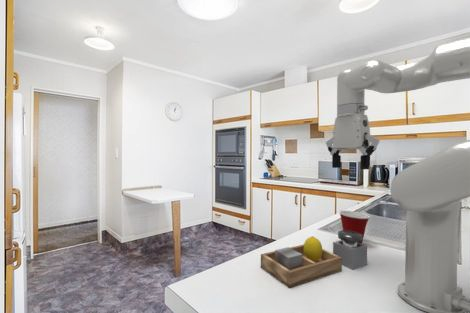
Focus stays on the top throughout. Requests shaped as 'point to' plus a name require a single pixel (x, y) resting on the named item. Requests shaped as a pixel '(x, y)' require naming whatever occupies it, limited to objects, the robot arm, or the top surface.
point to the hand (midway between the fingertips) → (349, 168)
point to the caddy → (299, 265)
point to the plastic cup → (354, 221)
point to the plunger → (350, 238)
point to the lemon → (313, 249)
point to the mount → (351, 254)
